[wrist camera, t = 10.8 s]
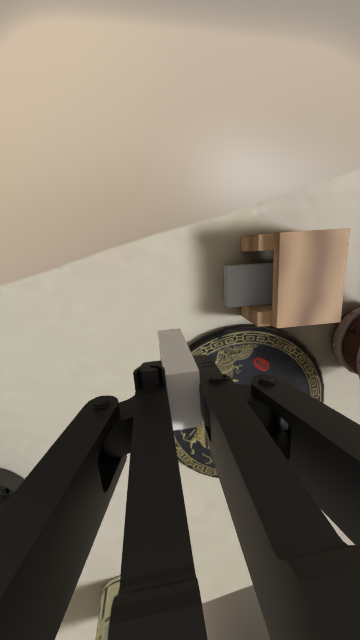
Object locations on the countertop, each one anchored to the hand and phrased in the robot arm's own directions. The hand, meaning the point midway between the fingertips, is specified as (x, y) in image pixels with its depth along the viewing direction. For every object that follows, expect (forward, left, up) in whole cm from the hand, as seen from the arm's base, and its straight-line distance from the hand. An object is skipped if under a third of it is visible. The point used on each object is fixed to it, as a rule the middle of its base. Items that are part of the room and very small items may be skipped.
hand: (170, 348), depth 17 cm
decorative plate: (+13, -21, -23) cm, 34 cm away
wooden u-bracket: (+18, +2, -23) cm, 29 cm away
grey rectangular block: (+15, +1, -23) cm, 28 cm away
